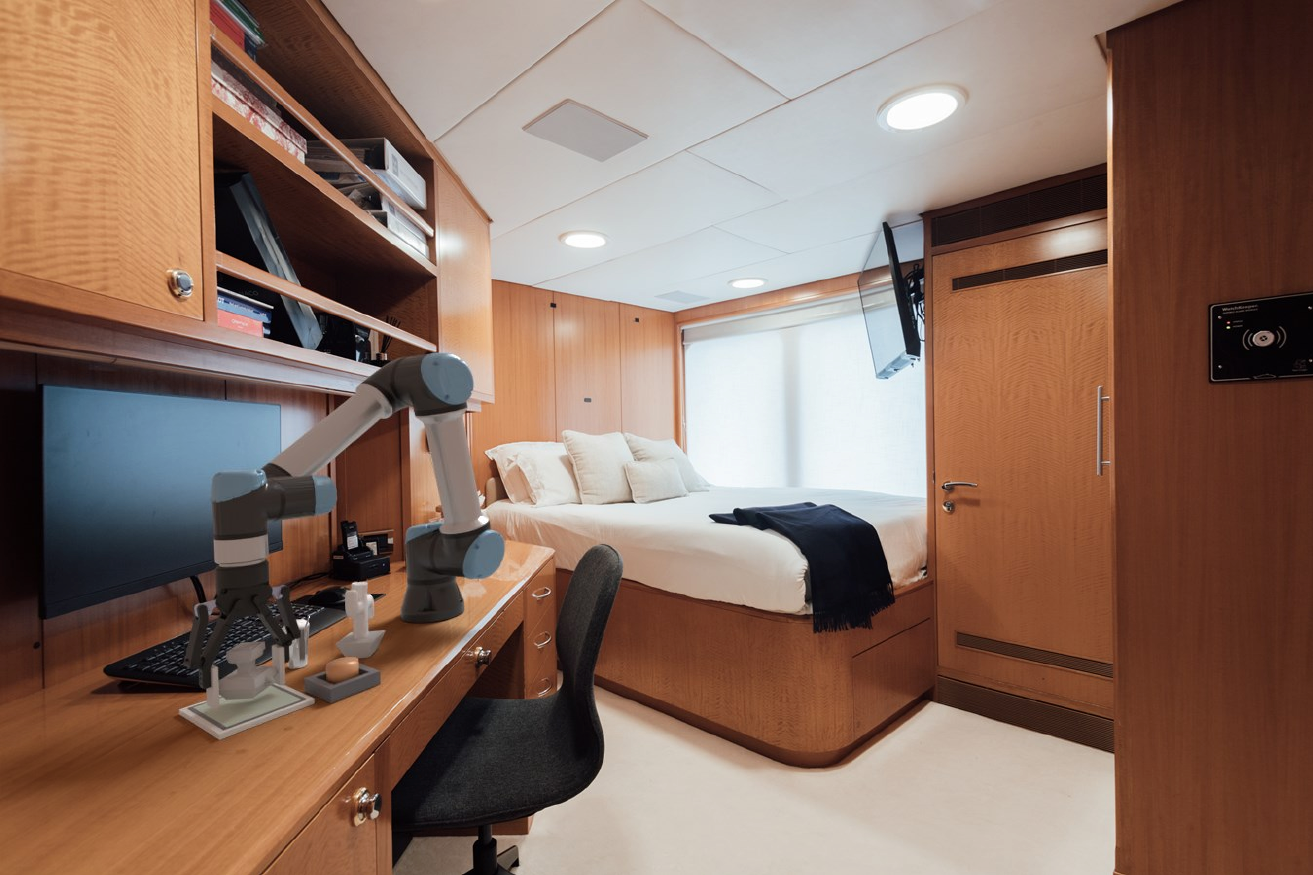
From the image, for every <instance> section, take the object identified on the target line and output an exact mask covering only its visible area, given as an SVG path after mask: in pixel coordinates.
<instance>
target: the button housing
mask: <svg viewBox="0 0 1313 875" xmlns="http://www.w3.org/2000/svg"><path fill="white" fill-rule="evenodd" d="M358 666H359V676H357V677H354V678H352V679H349V680H346V681H343V682H341V683H338V684H335V685H333V684H331V683H329V682H326V670H324V671H321V672H318V673H315V674H313V675H310V676H307V677H304V678H303V679H304V682H303V683H304V692H305V693H308V694H309V695H311V696H314V697H316V698H319V699H321V700H324V701H326V702H328V703H330V704H333V703H335V702H337V701H340V700H344V699H346V698H348V697H351V696H353V695H356V694H358V693H361V692H363V691H365V690H369V689H371V688H374V687H375V686H379V685H381V684H382V683H381V682H382V681H381V670H379V669H375V668H374V667H370V666H368V665H365V664H362V663H359V662H358Z"/></svg>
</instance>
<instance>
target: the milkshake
mask: <svg viewBox="0 0 1313 875" xmlns="http://www.w3.org/2000/svg"><path fill="white" fill-rule="evenodd" d="M310 617H311V616H308V617H307V619H303V618H302V619H296V621H297V624H298V627H299V630H300V633H301V636H300V637H299V638H298V639H294V640H293V641H292V644H291V646H289V657H290V659H289V662H288V663H287V668H289V669H290V670H297V669H301V668H304V667H305V666H307V665H308V660H309V659H308V658H309V657H308V656H309V636H310V634H309V633H310V622H309V621H310ZM282 630H283V631H284V632H285V634H287V633H286V630H285V627H284V626H283V627H282Z"/></svg>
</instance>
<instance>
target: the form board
mask: <svg viewBox="0 0 1313 875" xmlns="http://www.w3.org/2000/svg"><path fill="white" fill-rule="evenodd" d="M315 701H316V699H315V698H313V697H311V696H310V695H308V694H305V693H303V692H300V691H298V690H296V689H293V688H292V687H290V686H288V685H286V684H284V685H281V686H280V685H278V684H276V683H274V684H273V685H271V686H269V687H268V688H267V689H265V690H264V691H262V692H261V693H260V694H258V695H257V696H256V697H254V698H253V699H237V700H225V699H224V698H223V697H222V696H220V695H219V707H218V708H215V709H213V708H212V707H210V706H208V705H207V699H206V700H202V701H199V702H198V703H194V704H191V705H188V706H185V707H182V708H179V709H178V715H180V716H181V717H183V719H186V720H187V721H188V722H191V723H192V724H194V725H195V726H197V727H198V728H200V729H201V730H203V731H205V732H206V733H208V735H209V734H210V735H212V736H213V737H214V738H216V739H217V740H219V741H220V740H221V741H222V740H223V739H226V738H228V737H230V736H234V735H236V734H239V733H241V732H244V731H246V730H249V729H251V728H254V727H257V726H259V725H262V724H265V723H267V722H270V721H272V720H275V719H277V718H280V717H283V716H285V715H287V714H288V715H289V714H290V713H291V714H292V713H294V712H296V711H299V710H301V709H304V708H306V707H309V706H312V705H314V704H315V703H316V702H315Z"/></svg>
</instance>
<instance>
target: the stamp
mask: <svg viewBox="0 0 1313 875" xmlns="http://www.w3.org/2000/svg"><path fill="white" fill-rule="evenodd" d="M265 642H266V641H249V642H248V641H247V642H240V643H239V644H237V645H236V646H234V647H232V648H231V649H229V650H227V651H226V652H225V653H226V656H225V659H226V661H227V663H228V664H231V665H236V666H237V668H236V669H235V670H233V671H232V672H231V673H229V674H227V675H225V676H224V677H223V678H221V679H218V683H219V696H222V697H223V698H224V699H225V700H237V699H253V698H254V697H256V696H257V695H258V694H260V693H261V692H262V691H264V690H265V689H267V688H268V687H269V686H271V685H273V684H274V683H275V679H274V678H275V677H276V675H277V673H278V669H277V668H276V667H275V666H273V665H257V666H256V660H257V659H258V658H260V657H262V656H263V654H264V650H266V643H265Z"/></svg>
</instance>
